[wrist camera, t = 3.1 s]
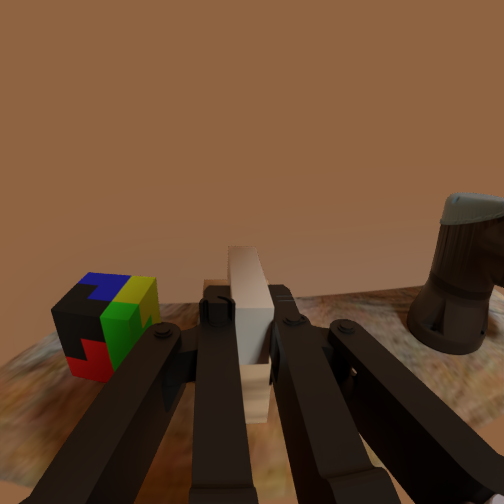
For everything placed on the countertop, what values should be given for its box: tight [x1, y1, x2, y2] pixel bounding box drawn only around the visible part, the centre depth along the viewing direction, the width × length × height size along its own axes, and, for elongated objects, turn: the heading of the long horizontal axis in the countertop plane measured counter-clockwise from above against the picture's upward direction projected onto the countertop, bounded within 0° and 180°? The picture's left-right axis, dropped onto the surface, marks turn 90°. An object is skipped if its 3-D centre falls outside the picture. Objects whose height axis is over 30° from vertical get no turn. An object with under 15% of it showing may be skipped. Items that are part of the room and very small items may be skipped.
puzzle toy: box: [51, 272, 161, 383], centre depth 36 cm, size 10×10×10 cm
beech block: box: [203, 280, 271, 424], centre depth 30 cm, size 6×6×14 cm
